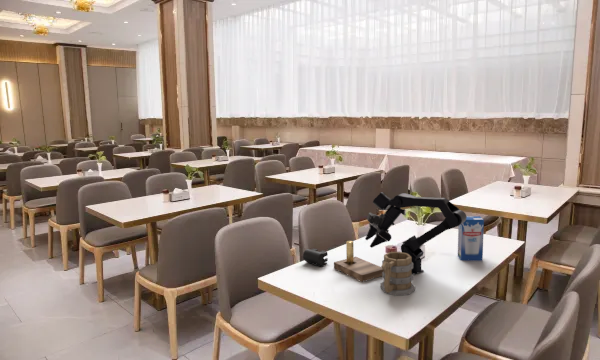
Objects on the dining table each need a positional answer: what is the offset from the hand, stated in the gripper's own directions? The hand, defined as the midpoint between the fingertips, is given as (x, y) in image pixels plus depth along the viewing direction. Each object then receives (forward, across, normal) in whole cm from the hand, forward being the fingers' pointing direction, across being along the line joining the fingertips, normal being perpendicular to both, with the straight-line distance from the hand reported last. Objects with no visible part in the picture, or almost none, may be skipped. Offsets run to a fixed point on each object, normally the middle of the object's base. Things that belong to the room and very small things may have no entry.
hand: (368, 243), depth 197 cm
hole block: (+12, +5, +3) cm, 14 cm away
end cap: (+25, -8, -10) cm, 28 cm away
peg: (+14, +1, +1) cm, 15 cm away
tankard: (+6, +29, +9) cm, 31 cm away
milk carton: (-22, -4, +47) cm, 52 cm away
